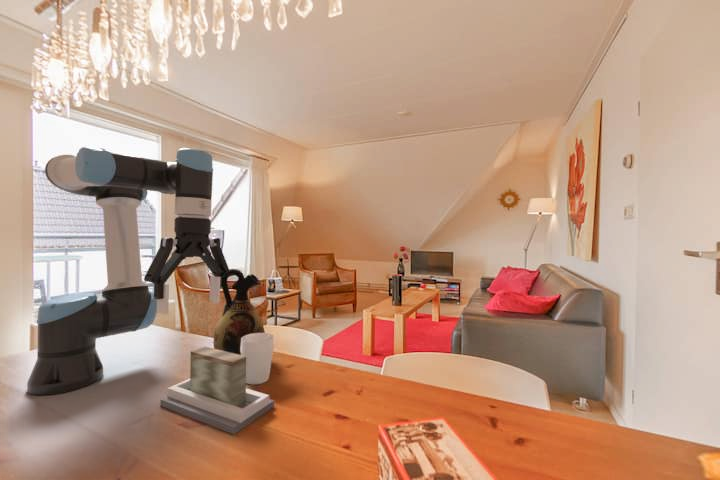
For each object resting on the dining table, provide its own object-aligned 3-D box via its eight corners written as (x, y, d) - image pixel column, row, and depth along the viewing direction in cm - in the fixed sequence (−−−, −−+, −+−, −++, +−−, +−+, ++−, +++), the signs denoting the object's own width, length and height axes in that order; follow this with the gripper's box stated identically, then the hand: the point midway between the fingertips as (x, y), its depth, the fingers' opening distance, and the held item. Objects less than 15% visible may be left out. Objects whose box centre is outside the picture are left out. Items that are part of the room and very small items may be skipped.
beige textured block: (190, 396, 76) (190, 351, 76) (204, 389, 80) (205, 346, 80) (231, 411, 70) (232, 362, 70) (245, 403, 74) (246, 356, 74)
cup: (263, 388, 84) (264, 343, 84) (233, 385, 86) (233, 341, 86) (278, 374, 93) (279, 333, 93) (250, 371, 95) (251, 331, 95)
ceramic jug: (270, 354, 109) (271, 267, 109) (257, 373, 94) (258, 272, 93) (220, 354, 108) (221, 266, 108) (198, 373, 93) (200, 271, 93)
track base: (160, 405, 75) (160, 391, 75) (204, 384, 86) (204, 372, 86) (233, 434, 65) (234, 417, 65) (273, 406, 75) (274, 392, 75)
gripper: (149, 213, 61) (146, 322, 62) (245, 220, 84) (242, 299, 84) (125, 213, 64) (123, 316, 65) (224, 219, 87) (221, 296, 88)
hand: (190, 307), depth 75 cm, fingers open, 13 cm apart
